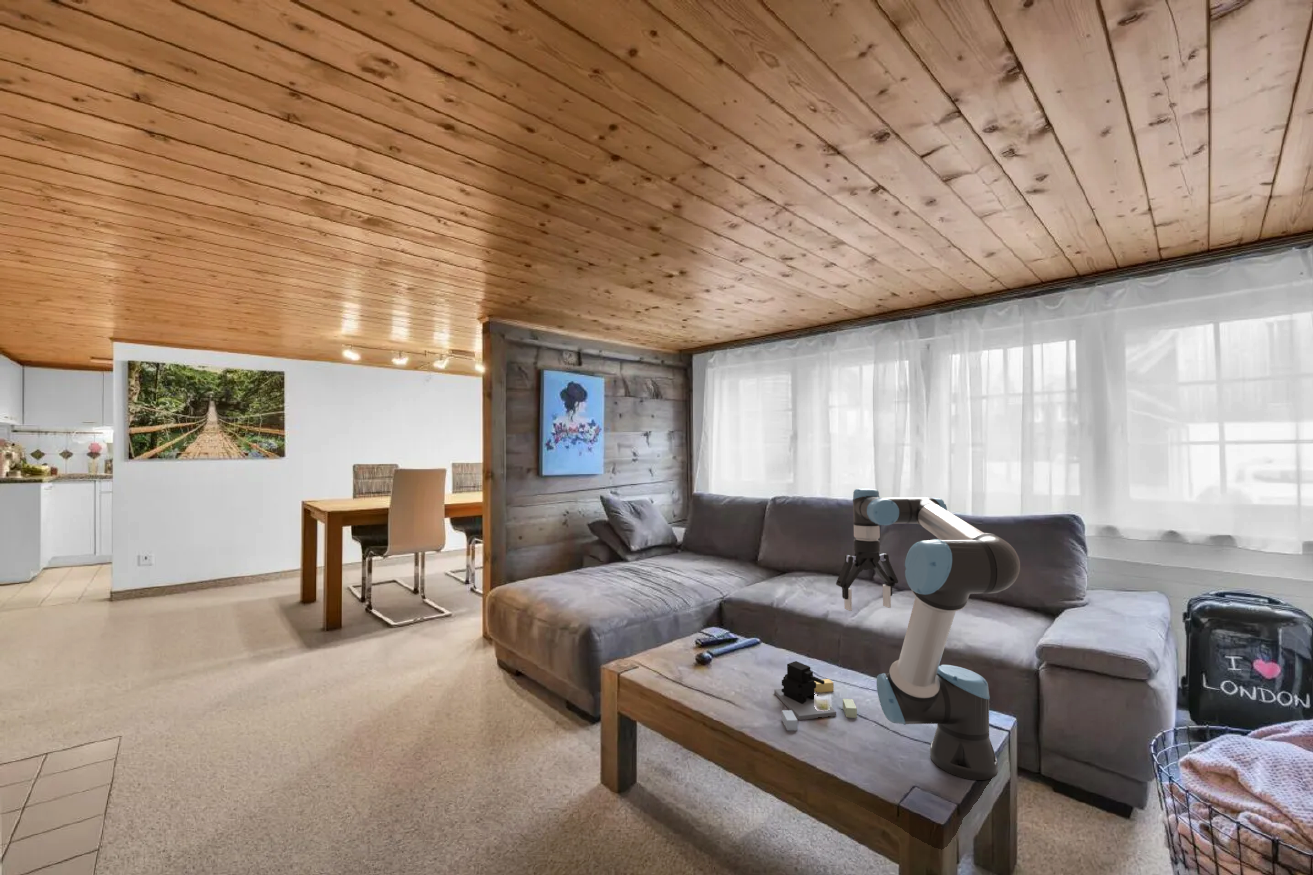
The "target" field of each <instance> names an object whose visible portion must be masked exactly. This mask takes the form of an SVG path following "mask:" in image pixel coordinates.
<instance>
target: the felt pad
mask: <svg viewBox="0 0 1313 875" xmlns="http://www.w3.org/2000/svg"><path fill="white" fill-rule="evenodd" d="M782 689H783V688H778V689H777V688H776V689H774V690H773V691H774V693H773V694H774V695H775V696H777V698H778V699H779V700H780V701H781V702H782V703H783V704H784V705H785V706H786V707H787V709H788V710H792V711H793V713H794V715H795V717H796V718H797V720H799V721H802V720H804V721H805V720H812V719H819V718H818V717H822V718H829V717H828V716H831V717H837V711H836V710H835V709H834V708H833V707H832V706H830V710H828V711H824V712H822V711H817V710H816V709H815V707H814V699H813V700H812V699H810V698H808V697H805V699H806V702H804V704H801V703H799V702H797V701H795V700H793V699H791V698H788V697H786V696H784V693H783V692H782ZM814 693H816V692H815V691H814Z"/></svg>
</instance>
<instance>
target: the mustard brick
mask: <svg viewBox="0 0 1313 875" xmlns="http://www.w3.org/2000/svg"><path fill="white" fill-rule="evenodd" d="M821 680H824V684H821V683H818V682H816V681H814V682H816V688H814V692H815V693H816V692H820V693H827V692H829V693H830V692H834V681H832V680H831V678H823V679H821Z"/></svg>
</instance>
